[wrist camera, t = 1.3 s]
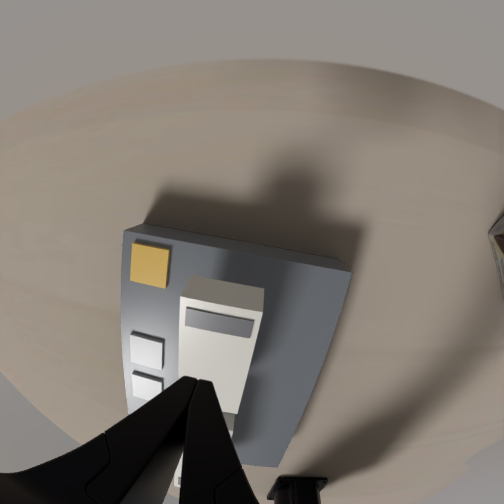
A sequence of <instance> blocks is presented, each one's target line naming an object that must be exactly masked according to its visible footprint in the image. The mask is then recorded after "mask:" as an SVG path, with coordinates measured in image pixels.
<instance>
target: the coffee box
mask: <svg viewBox="0 0 504 504" xmlns="http://www.w3.org/2000/svg"><path fill="white" fill-rule="evenodd" d="M489 239H490V242H491V246H492V249H493V253H494V256H495V260H496V264H497V268H498V273H499V277H500V282H501V287H502V292H503V297H504V216H503V217H502V218H501V219H500V220H499V221H498V222H497V223H496V225H495V226H494V227H493V228H492V229H491V230H490V231H489Z"/></svg>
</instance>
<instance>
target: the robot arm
mask: <svg viewBox="0 0 504 504" xmlns="http://www.w3.org/2000/svg"><path fill="white" fill-rule="evenodd" d="M182 453H183V458H182V470H181V483H180V497H179V504H259V502H258V500H257V499H256V497H255V495H254V493H253V491H252V489H251V486H250V484H249V482H248V480H247V477H246V475H245V472H244V470H243V469H242V465H241V463H240V460H239V457H238V455H237V452H236V449H235V447H234V444H233V441H232V438H231V436H230V433H229V430H228V427H227V424H226V421H225V418H224V415H223V412H222V409H221V406H220V403H219V400H218V397H217V394H216V391H215V388H214V385H213V382H212V381H209V380H204V379H199V380H198V379H197V378H195V377H190V376H182V377H181V378H180V379H178V380H177V381H176V382H174V383H173V384H172V385H170V386H169V387H167V388H166V389H165V390H163V391H162V392H161V393H159V394H158V395H156V396H155V397H154V398H152V399H151V400H150V401H148V402H147V403H145V404H144V405H143V406H141V407H140V408H138V409H137V410H135V411H134V412H133V413H131V414H130V415H128V416H127V417H125V418H124V419H122V420H121V421H119V422H118V423H117V424H115V425H114V426H112V427H111V428H109V429H108V430H106V431H105V434H104V433H101V434H100V435H98V436H97V437H95V438H94V439H92V440H90V441H89V442H87V443H85V444H84V445H82V446H80V447H78V448H76V449H74V450H72V451H70V452H68V453H66V454H64V455H62V456H59V457H57V458H55V459H52V460H50V461H48V462H45V463H43V464H40V465H37V466H35V467H32V468H30V469H27V470H24V471H20V472H15V473H0V504H162V503H163V501H164V498H165V496H166V494H167V491H168V489H169V486H170V484H171V481H172V479H173V476H174V473H175V471H176V468H177V466H178V463H179V461H180V458H181V456H182ZM327 483H328V479H327V478H278V479H277V480H276V481H275V483H274V485H273V487H272V488H271V490H270V492H269V493H268V495H267V500H274V504H321V500H320V493H319V492H320V491H321V490H322V489H323V487H324V486H325V485H326V484H327Z"/></svg>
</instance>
